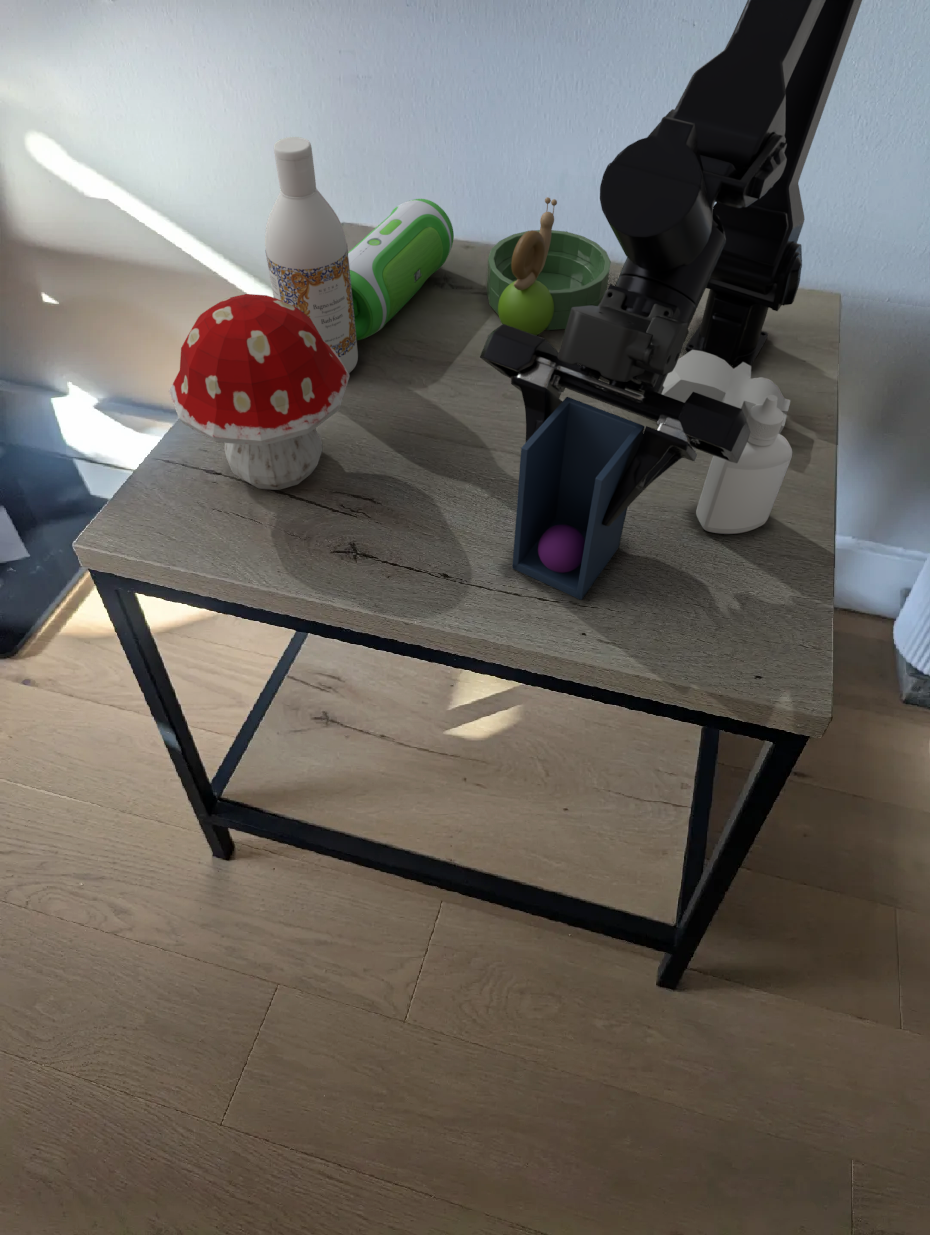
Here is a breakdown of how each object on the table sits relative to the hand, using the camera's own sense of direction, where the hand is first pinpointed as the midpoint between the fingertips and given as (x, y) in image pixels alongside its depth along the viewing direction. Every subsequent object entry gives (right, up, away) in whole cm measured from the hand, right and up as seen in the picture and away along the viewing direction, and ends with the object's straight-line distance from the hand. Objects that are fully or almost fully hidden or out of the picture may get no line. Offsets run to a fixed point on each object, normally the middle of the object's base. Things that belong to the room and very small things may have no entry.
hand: (564, 508), depth 61 cm
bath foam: (-21, +17, +22) cm, 34 cm away
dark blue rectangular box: (+1, -3, +6) cm, 7 cm away
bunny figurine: (+14, +11, +17) cm, 25 cm away
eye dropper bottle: (+14, 0, +9) cm, 17 cm away
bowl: (+1, +25, +29) cm, 38 cm away
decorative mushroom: (-23, +5, +13) cm, 27 cm away
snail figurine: (-1, +22, +23) cm, 32 cm away
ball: (0, -3, +3) cm, 4 cm away
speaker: (-15, +25, +29) cm, 41 cm away
